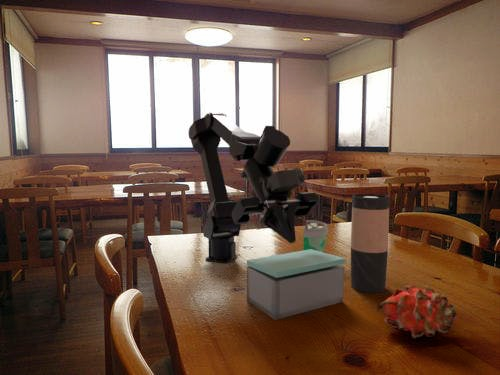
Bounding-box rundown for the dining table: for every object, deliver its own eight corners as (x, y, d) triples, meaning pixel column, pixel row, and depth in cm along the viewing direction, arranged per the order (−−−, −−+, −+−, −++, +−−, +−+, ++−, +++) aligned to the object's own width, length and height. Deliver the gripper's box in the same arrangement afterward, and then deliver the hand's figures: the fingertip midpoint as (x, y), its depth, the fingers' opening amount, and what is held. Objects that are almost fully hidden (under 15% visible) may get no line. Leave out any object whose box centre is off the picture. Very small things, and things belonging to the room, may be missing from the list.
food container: (327, 270, 95) (328, 230, 94) (302, 268, 97) (303, 229, 95) (328, 256, 107) (328, 220, 106) (305, 254, 109) (306, 219, 107)
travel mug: (367, 296, 79) (370, 199, 77) (342, 284, 86) (344, 194, 83) (394, 289, 82) (398, 196, 80) (368, 278, 89) (370, 192, 87)
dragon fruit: (462, 351, 61) (381, 348, 65) (452, 303, 67) (379, 303, 71) (462, 323, 56) (375, 321, 60) (452, 274, 62) (373, 276, 66)
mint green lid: (246, 265, 76) (246, 260, 76) (311, 253, 84) (310, 249, 84) (276, 277, 67) (276, 272, 67) (345, 263, 75) (345, 258, 75)
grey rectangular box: (246, 300, 77) (246, 266, 76) (310, 285, 85) (311, 254, 84) (275, 320, 68) (275, 281, 67) (342, 301, 76) (343, 267, 75)
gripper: (238, 156, 74) (269, 223, 65) (314, 154, 83) (350, 213, 75) (220, 192, 81) (246, 256, 73) (292, 187, 91) (322, 244, 82)
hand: (293, 242), depth 76 cm, fingers closed
